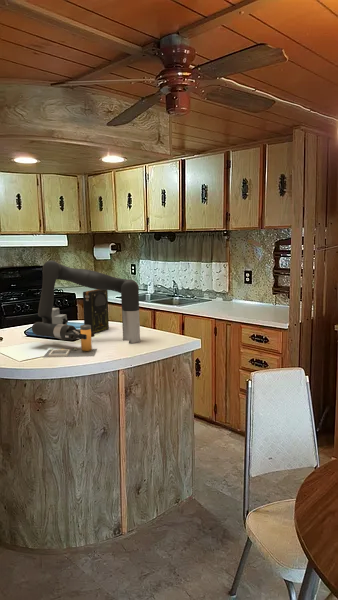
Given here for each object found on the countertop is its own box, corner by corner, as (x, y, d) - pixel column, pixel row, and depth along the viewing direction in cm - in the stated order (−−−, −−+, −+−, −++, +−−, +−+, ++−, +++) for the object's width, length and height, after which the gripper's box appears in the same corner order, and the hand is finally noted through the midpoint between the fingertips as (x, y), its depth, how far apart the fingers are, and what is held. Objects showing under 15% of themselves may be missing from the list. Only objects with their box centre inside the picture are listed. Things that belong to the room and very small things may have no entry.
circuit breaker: (64, 336, 265) (63, 310, 263) (41, 335, 268) (40, 309, 266) (70, 333, 273) (68, 308, 270) (47, 332, 276) (46, 307, 273)
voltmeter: (93, 334, 268) (91, 291, 265) (82, 332, 273) (80, 291, 269) (110, 329, 282) (109, 288, 278) (99, 328, 286) (98, 288, 282)
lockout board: (97, 351, 230) (97, 346, 230) (94, 359, 216) (94, 353, 216) (49, 352, 229) (48, 347, 229) (42, 360, 215) (42, 355, 215)
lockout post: (92, 348, 228) (91, 324, 226) (91, 350, 223) (90, 326, 221) (82, 348, 228) (81, 324, 226) (80, 351, 223) (79, 326, 221)
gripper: (53, 327, 226) (79, 331, 217) (74, 322, 238) (99, 325, 228) (54, 342, 227) (80, 346, 218) (75, 336, 239) (100, 340, 230)
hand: (89, 335), depth 223 cm, fingers closed on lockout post, 5 cm apart
